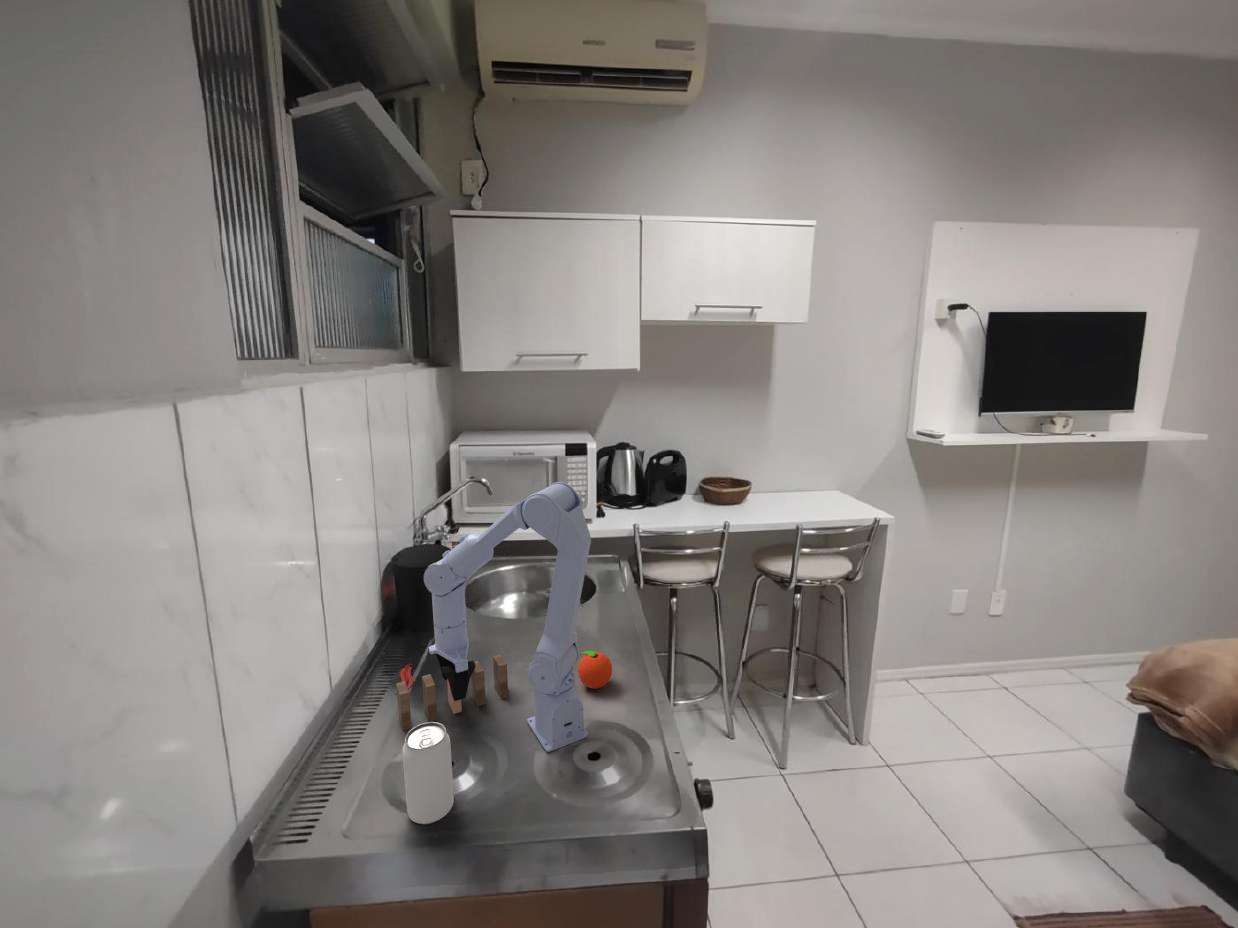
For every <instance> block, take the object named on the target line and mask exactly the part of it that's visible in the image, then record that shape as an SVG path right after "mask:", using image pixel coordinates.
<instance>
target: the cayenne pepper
mask: <svg viewBox="0 0 1238 928" xmlns="http://www.w3.org/2000/svg"><path fill="white" fill-rule="evenodd" d="M410 665H411V666H412V665H413V663H408V664H406V665H405V666H404V667H405V668H404V667H403V668H402V669H401V670H400V673H399V677H400V680H401V681H400V682H404V681H405V683H406V685H407V688H408V690H410V688H412V686H413V684H414V679H413V678H414V677H413V675H412V668H413V666H412V667H410ZM395 695H396V696H397V693H395Z"/></svg>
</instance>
